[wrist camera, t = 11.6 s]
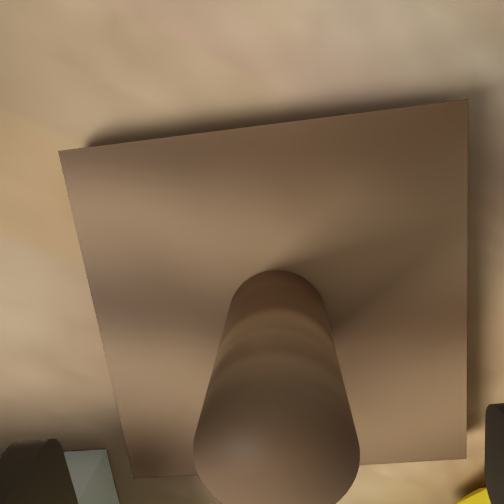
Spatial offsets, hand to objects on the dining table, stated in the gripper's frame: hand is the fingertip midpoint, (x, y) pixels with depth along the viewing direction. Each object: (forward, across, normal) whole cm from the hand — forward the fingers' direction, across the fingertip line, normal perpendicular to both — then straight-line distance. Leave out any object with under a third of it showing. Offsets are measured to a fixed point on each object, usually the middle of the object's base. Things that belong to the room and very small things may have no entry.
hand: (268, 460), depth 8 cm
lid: (+8, 0, 0) cm, 8 cm away
